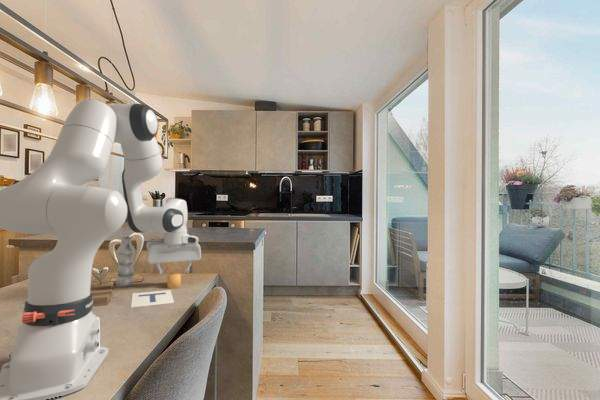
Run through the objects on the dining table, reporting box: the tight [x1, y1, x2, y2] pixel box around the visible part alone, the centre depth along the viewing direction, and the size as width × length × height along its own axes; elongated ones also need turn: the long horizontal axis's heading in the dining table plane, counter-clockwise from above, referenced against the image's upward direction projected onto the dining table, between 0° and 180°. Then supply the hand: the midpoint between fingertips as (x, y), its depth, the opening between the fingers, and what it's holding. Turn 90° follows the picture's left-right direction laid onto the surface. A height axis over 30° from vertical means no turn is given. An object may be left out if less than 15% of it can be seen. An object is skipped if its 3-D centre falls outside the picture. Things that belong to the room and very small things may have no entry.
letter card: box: [130, 289, 175, 308], centre depth 111 cm, size 16×13×1 cm
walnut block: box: [90, 289, 114, 308], centre depth 105 cm, size 9×8×4 cm
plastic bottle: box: [115, 236, 136, 288], centre depth 125 cm, size 6×7×20 cm
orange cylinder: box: [166, 272, 182, 290], centre depth 125 cm, size 5×5×6 cm
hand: (174, 272), depth 126 cm, fingers open, 8 cm apart
